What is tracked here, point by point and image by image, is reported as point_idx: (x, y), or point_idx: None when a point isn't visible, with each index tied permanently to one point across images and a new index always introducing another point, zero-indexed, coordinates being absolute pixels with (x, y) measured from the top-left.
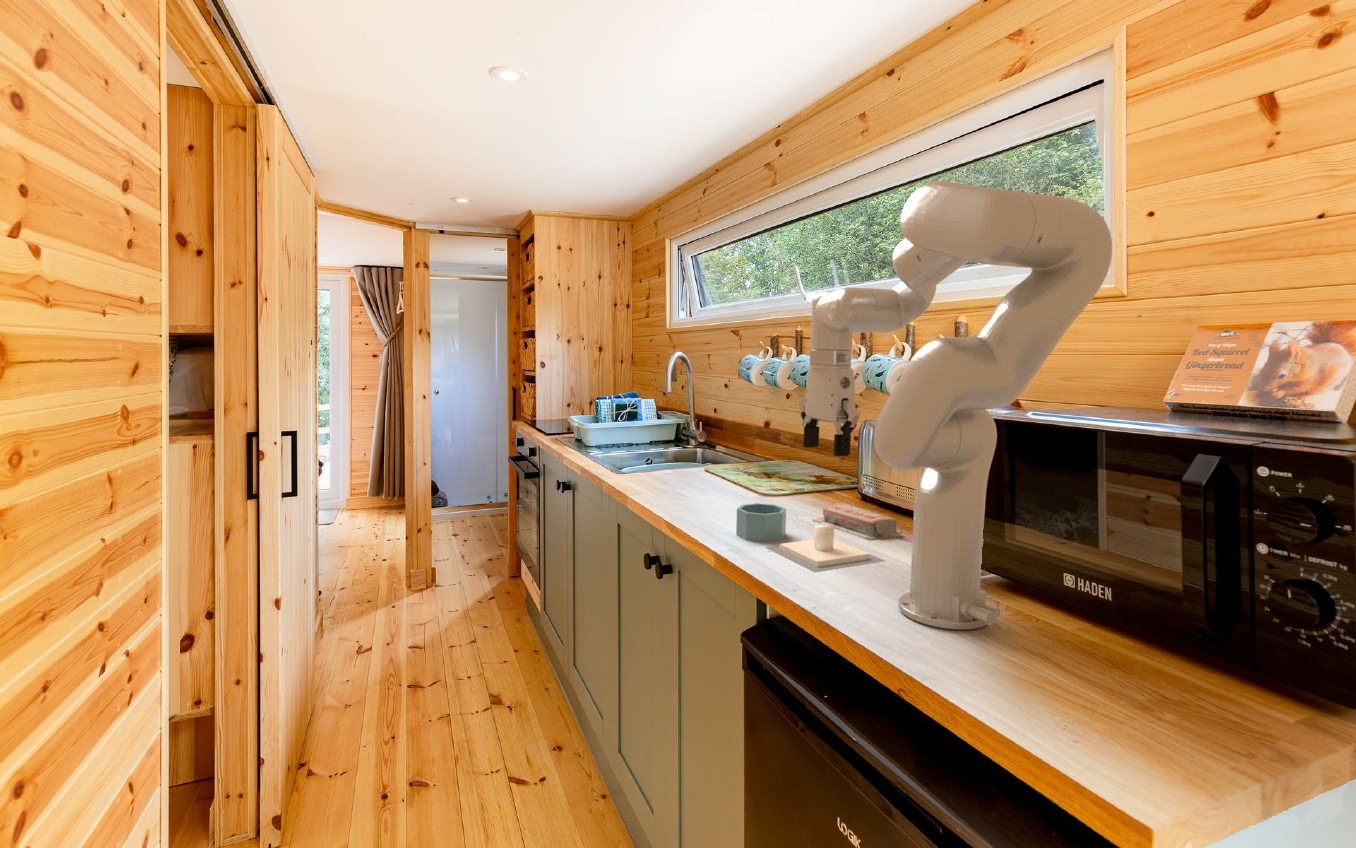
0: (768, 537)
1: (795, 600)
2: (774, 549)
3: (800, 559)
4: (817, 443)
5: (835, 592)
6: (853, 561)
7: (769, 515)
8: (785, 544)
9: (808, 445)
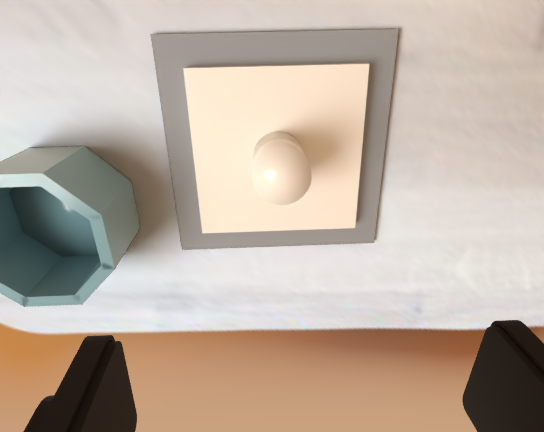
0: (133, 225)
1: (452, 327)
2: (204, 239)
3: None
4: (113, 363)
5: (466, 257)
6: None
7: (112, 255)
8: (211, 223)
9: (132, 415)
